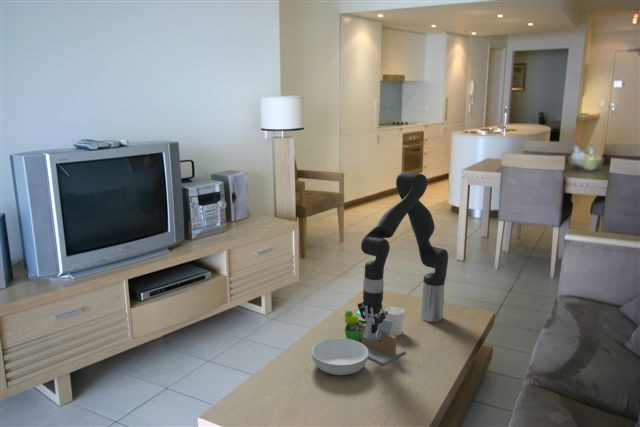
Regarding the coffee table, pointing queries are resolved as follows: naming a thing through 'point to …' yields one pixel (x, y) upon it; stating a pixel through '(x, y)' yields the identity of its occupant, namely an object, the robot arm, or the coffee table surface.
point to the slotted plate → (381, 328)
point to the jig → (382, 347)
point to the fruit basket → (353, 326)
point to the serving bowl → (340, 356)
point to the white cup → (395, 320)
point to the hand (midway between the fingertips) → (371, 331)
